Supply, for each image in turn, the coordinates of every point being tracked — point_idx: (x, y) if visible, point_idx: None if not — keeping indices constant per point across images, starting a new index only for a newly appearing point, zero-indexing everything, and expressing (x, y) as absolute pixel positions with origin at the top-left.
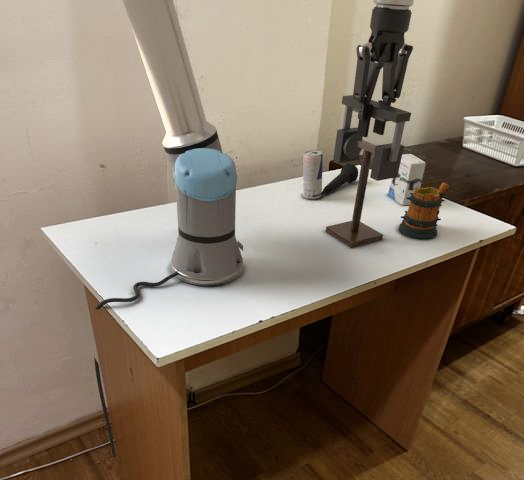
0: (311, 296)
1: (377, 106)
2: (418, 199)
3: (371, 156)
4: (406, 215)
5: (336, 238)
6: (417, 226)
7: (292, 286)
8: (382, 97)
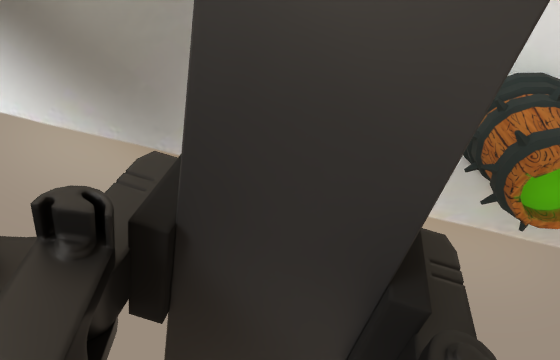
0: (65, 115)
1: (197, 338)
2: (506, 176)
3: None
4: (505, 115)
5: None
6: (472, 155)
7: (50, 69)
8: (426, 354)
